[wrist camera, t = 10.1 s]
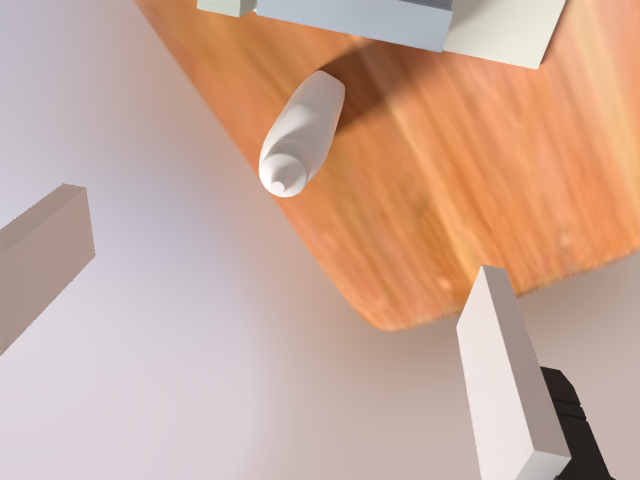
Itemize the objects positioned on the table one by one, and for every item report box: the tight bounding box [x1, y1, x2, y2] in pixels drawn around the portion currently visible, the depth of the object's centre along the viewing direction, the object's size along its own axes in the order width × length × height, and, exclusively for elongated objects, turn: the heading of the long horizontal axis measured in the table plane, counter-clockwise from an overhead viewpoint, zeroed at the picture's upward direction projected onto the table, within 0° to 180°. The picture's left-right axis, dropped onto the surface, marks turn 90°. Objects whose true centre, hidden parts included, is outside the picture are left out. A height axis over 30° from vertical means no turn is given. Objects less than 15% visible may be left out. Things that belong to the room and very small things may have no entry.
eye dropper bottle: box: [259, 70, 345, 197], centre depth 27 cm, size 4×6×12 cm
